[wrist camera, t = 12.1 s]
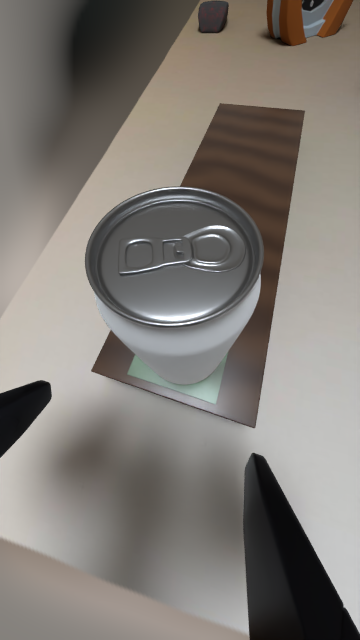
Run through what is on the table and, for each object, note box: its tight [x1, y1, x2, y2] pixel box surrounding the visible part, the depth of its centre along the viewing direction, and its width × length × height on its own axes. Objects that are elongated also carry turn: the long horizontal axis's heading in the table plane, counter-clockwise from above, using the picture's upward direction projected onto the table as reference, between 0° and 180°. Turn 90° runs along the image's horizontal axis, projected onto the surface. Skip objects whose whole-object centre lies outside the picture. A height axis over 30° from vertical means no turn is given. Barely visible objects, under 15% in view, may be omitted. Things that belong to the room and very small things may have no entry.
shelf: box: [91, 103, 305, 428], centre depth 26 cm, size 48×14×4 cm, turn 162°
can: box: [85, 187, 264, 385], centre depth 12 cm, size 6×6×12 cm
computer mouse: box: [198, 1, 229, 32], centre depth 59 cm, size 8×14×4 cm, turn 167°
